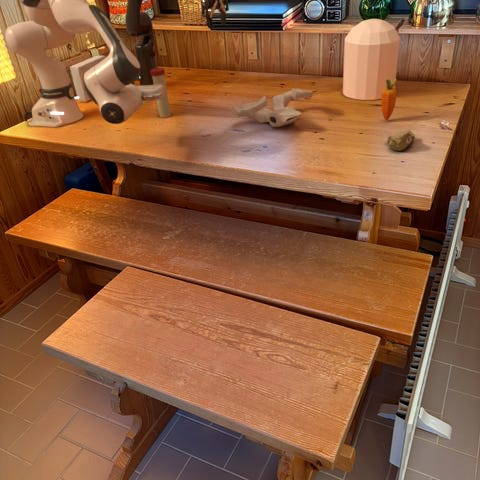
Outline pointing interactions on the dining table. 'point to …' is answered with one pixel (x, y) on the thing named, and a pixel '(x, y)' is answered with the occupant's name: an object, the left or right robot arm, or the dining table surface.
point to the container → (370, 59)
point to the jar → (163, 102)
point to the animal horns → (280, 112)
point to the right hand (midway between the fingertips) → (217, 25)
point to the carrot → (388, 99)
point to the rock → (400, 140)
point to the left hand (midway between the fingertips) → (141, 87)
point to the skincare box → (79, 72)
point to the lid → (157, 71)
